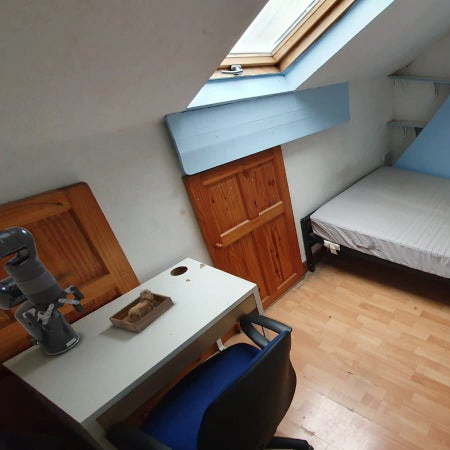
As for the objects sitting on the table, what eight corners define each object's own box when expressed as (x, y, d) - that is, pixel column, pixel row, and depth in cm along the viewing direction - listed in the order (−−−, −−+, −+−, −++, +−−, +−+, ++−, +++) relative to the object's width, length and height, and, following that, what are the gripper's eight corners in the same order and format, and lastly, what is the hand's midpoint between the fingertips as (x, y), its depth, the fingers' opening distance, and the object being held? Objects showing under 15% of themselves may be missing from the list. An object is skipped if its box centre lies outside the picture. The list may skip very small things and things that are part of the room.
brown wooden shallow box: (113, 325, 125) (108, 318, 123) (150, 298, 138) (146, 291, 136) (139, 332, 122) (134, 325, 120) (173, 304, 136) (170, 297, 133)
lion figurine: (148, 302, 136) (140, 287, 131) (161, 301, 136) (153, 286, 132) (126, 329, 123) (116, 313, 118) (140, 328, 124) (131, 312, 119)
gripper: (56, 269, 104) (81, 304, 112) (0, 298, 92) (32, 334, 100) (73, 273, 102) (96, 308, 110) (18, 303, 90) (49, 339, 99)
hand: (66, 320), depth 105 cm, fingers open, 8 cm apart
